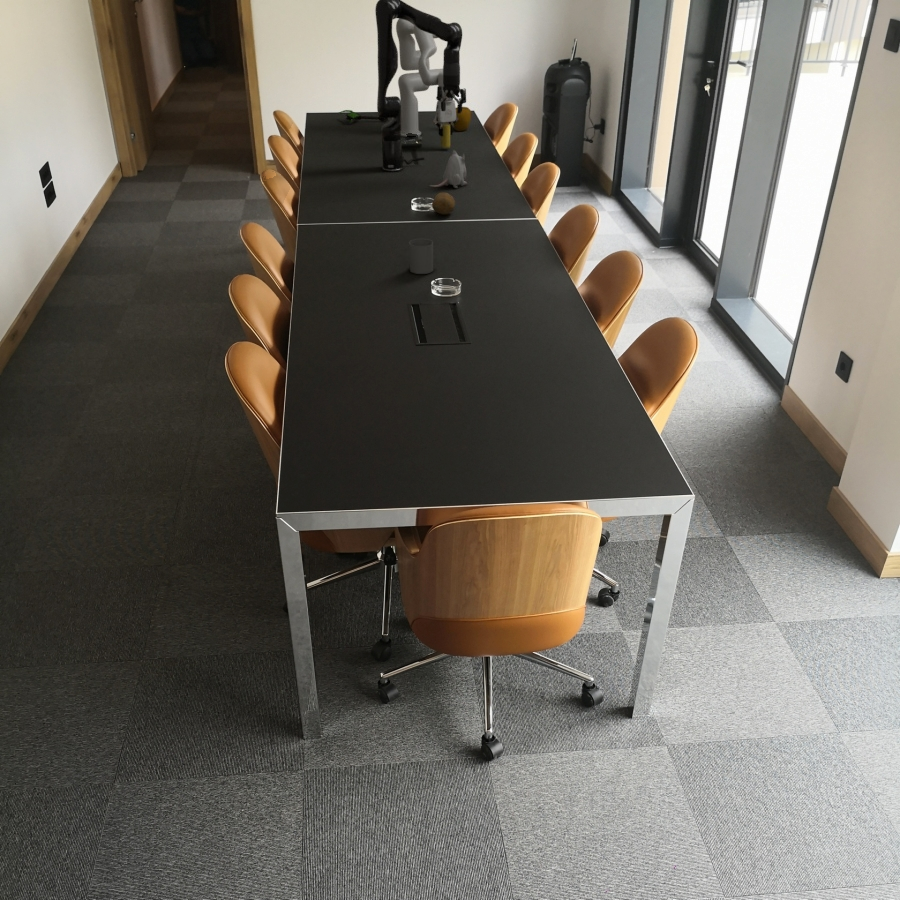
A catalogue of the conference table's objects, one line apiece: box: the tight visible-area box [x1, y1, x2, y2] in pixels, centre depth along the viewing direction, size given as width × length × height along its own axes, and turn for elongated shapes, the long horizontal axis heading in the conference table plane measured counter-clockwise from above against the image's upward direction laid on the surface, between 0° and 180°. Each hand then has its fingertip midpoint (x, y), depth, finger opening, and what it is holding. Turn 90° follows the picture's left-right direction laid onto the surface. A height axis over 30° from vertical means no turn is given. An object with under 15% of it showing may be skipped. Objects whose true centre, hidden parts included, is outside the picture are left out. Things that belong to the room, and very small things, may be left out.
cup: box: [408, 237, 434, 275], centre depth 305 cm, size 8×8×10 cm
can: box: [440, 122, 451, 149], centre depth 450 cm, size 5×5×11 cm
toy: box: [428, 149, 468, 189], centre depth 390 cm, size 9×24×15 cm, turn 137°
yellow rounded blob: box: [453, 106, 472, 132], centre depth 487 cm, size 11×11×13 cm
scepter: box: [337, 109, 389, 125], centre depth 507 cm, size 6×13×30 cm
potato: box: [431, 192, 456, 216], centre depth 360 cm, size 10×14×8 cm
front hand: (451, 112), depth 390 cm, fingers open, 8 cm apart
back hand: (445, 134), depth 450 cm, fingers closed on can, 4 cm apart
